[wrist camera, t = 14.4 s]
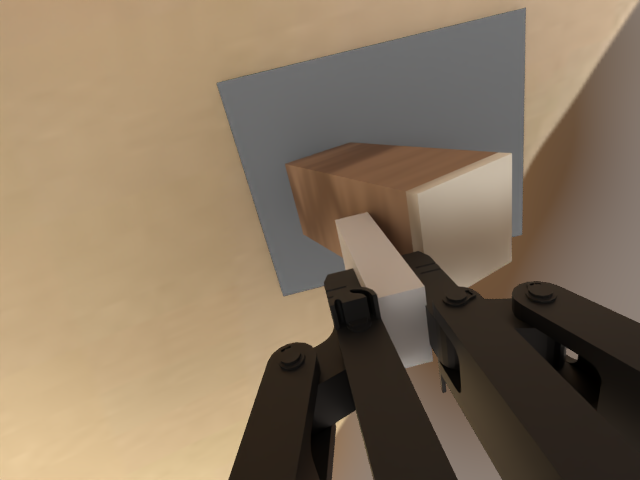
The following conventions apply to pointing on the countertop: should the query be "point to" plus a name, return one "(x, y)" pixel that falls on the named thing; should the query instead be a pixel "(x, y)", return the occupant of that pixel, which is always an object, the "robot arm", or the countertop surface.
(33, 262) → the countertop surface
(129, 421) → the countertop surface
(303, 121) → the mat
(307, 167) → the block
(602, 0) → the countertop surface
